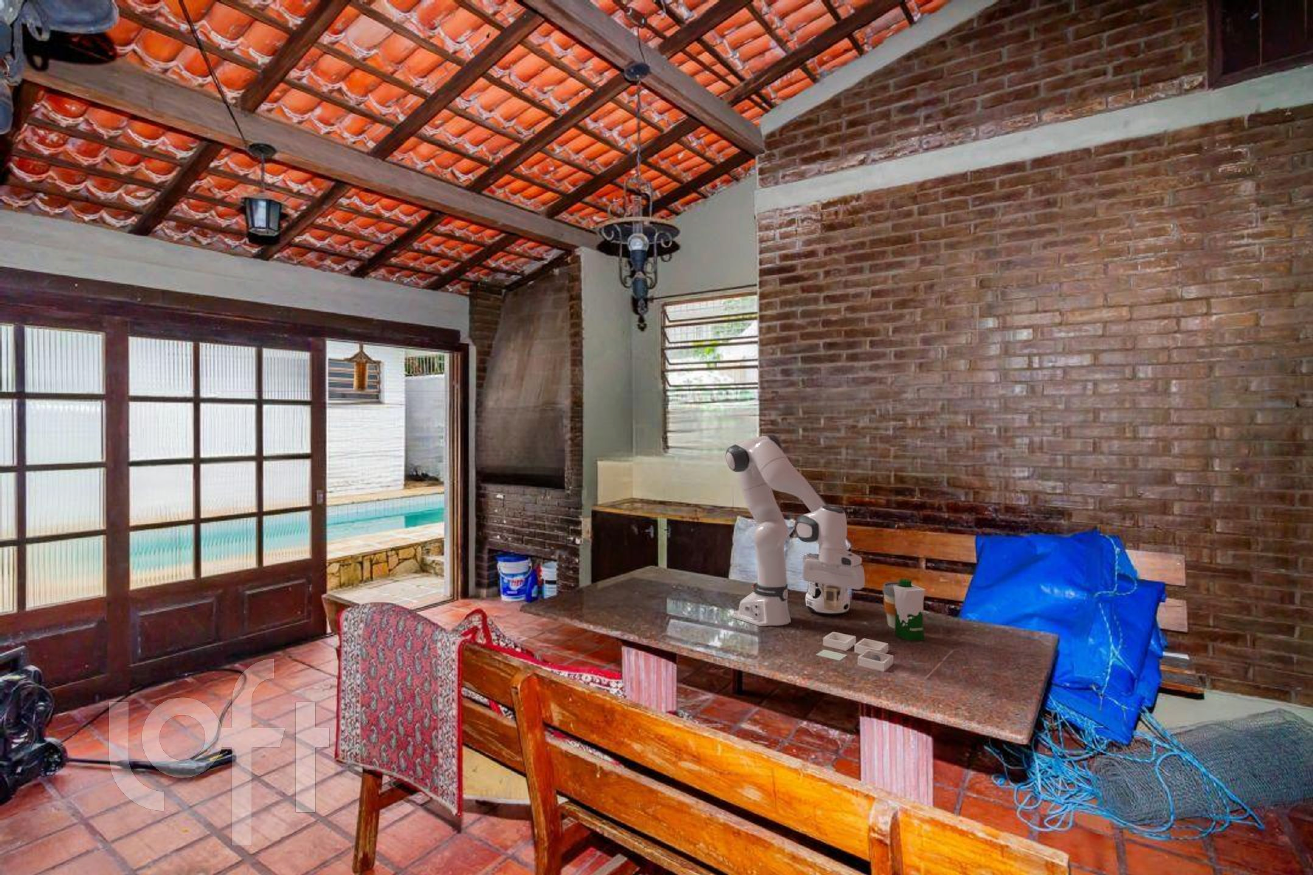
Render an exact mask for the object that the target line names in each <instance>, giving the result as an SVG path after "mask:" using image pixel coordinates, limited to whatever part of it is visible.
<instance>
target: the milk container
mask: <svg viewBox="0 0 1313 875" xmlns="http://www.w3.org/2000/svg"><path fill="white" fill-rule="evenodd" d="M826 586H828V585H827V584H825V585H824V586H823V587H826ZM831 586H833V585H831ZM838 587H839V586H838ZM848 590H849V588H847V591H846V593H845V594H844V600H843V601H841V609H839V610H837V611H832V610H827V609H824V597H821V591H820V589H819V587H818V583H815V582H809V581H807V590H806V594H805V605H806V608H807V609H808V610H809V611H811V612H812V613H816V614H819V615H826V616H836V615H837V616H838V615H842V614H845V613H847V612H848V611H849V609H850V605H851V600H850V598H851V597H850V595H849V591H848ZM842 591H843V590H841V592H842Z"/></svg>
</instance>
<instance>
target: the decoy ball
mask: <svg viewBox="0 0 1313 875" xmlns="http://www.w3.org/2000/svg"><path fill="white" fill-rule="evenodd" d="M870 659H871V660H875V661H881V659H880V657H879V656H878V655H876V654H874V655H872V656H871V658H870Z"/></svg>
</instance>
